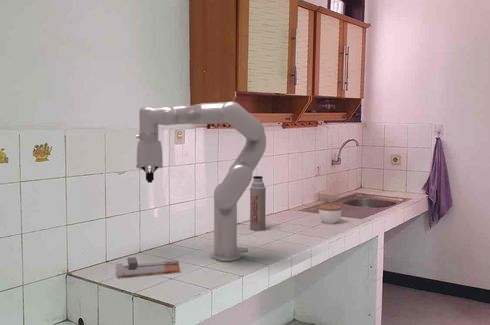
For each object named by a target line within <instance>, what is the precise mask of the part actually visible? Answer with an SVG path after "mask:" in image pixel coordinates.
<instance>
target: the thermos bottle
mask: <svg viewBox="0 0 490 325" xmlns="http://www.w3.org/2000/svg"><path fill="white" fill-rule="evenodd" d="M252 179H253V181H252V182H251V183H250V184H251V186H250V187H249V188H250V189H249V190H250V194H249V195H250V196H249V219H250V221H249V230H250V231H252V230H253V232H263V231H266V199H267V197H266V186H265V182H264V181H263V179H264V178H263V176H260V175H255V176H252Z"/></svg>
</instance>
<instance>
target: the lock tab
mask: <svg viewBox="0 0 490 325" xmlns="http://www.w3.org/2000/svg"><path fill="white" fill-rule="evenodd" d="M138 264H139V263H138V260H137V257H136V256H135V257H133V256H132V257H127V265H129V268H132V267H138Z"/></svg>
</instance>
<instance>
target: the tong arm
mask: <svg viewBox="0 0 490 325" xmlns="http://www.w3.org/2000/svg"><path fill="white" fill-rule="evenodd" d="M167 264H177V265H178V269H180V262H179V260H172V261H171V260H169V261H160V262H158V261H157V262H149V263H148V262H146V263H138V267H145V266H156V265H167ZM127 265H128V264H127ZM128 268H129V265H128ZM132 268H134V267H132Z"/></svg>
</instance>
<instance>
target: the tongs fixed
mask: <svg viewBox="0 0 490 325" xmlns="http://www.w3.org/2000/svg"><path fill="white" fill-rule="evenodd" d="M123 266H124V263H122V262H121V263H116V265H115V270H116V269H117V271H116V276H117V278H118V277H125V276H136V275H147V274H157V273H169V272H178V265H177V264H167V265H156V266H145V267H134V268H123Z"/></svg>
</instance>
